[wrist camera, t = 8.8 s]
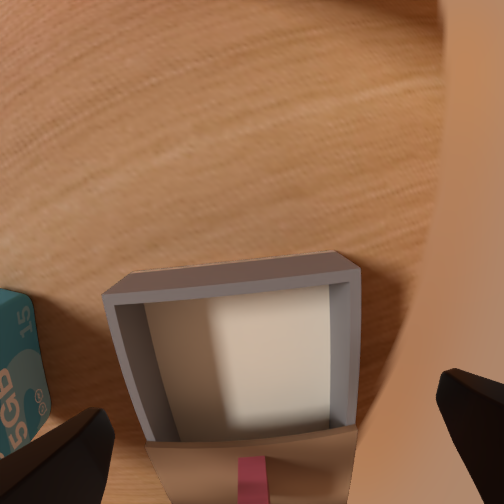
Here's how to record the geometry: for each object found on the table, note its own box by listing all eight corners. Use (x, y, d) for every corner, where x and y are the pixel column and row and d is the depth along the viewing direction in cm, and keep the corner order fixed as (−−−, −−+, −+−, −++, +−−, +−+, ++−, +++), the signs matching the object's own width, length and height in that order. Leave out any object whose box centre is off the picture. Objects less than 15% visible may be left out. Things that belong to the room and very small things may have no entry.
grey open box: (333, 437, 23) (348, 479, 18) (180, 451, 23) (170, 493, 18) (333, 250, 20) (360, 268, 15) (132, 271, 20) (101, 294, 15)
